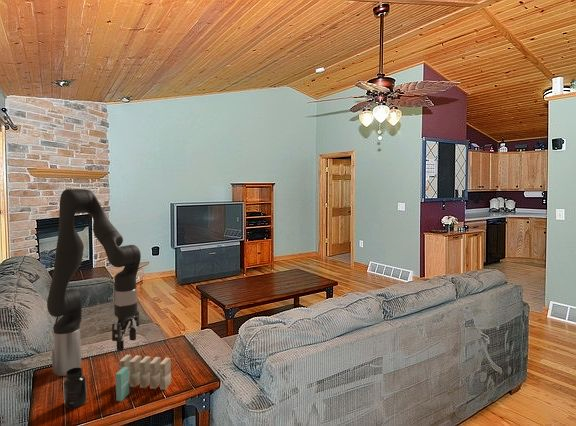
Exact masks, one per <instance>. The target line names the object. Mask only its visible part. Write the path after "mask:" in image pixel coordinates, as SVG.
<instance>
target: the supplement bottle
mask: <svg viewBox="0 0 576 426" xmlns="http://www.w3.org/2000/svg"><path fill="white" fill-rule="evenodd" d="M83 373H84V372H83V368H82V367H81V368H72V369H70V370H68V371H67V372H66V378H65V379H64V381H63V383H62V384H63V399H64V401H63V402H64V406H65V408H67V409H71V410H72V409H76V408H80V407H82V406H83V405H85V403H87V401H88V400H87V399H88V397H87V395H88V393H87V392H88V391H87V378H86V376H85V375H84V374H83Z"/></svg>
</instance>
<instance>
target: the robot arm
mask: <svg viewBox="0 0 576 426" xmlns="http://www.w3.org/2000/svg"><path fill="white" fill-rule="evenodd" d="M76 214H88V215H89V216H91V218H92V219H93V220H92V221H93V223H92V232H93V235H94V236H95V238H96V240H97V241H98V242H99V243H100V244H101V246H102V247H103V249H104V252H105V255H106V257H107V258H106V259H107V260H108V263H109V264H110V265H111V266H113V267H115V268H122V267H123V269H122V270H121V271H119V272H118V273H116V274H115V275H114V295H113V300H114V301H113V303H114V304H113V305H114V306H113V308H114V309H113V310H114V313H113V314H114V316H115V317H116V318H117V323H112V324H111V325H112V326H111V327H112V328H111V337H112V338H111V341H112V342H116V350H117V352H123V351H124V350H125V343H124V342H125V339H124V338H125V336H126V335H127V333H128V332H129V341H136V339H137V330H138V327H140V311H139V310H138V291H137V275H138V273H139V272H138V271H139V267H140V263H141V260H142V259H141V257H142V256H141V251H140V248H139V247H138V246H137V245H134V244H128V245H122V244H123V242H124V238H123V236H122V235H121V233H120V232H119V231H118V230H117V228H116V227H115V226H114V225H113V223H112V222H111V221H110V219H109V218H108V216H107V214H106V212H105V211H104V209H103V207H102V205H101V204H100V202H99V200H98V198H97V196H96V195H95V193H93V191H91V190H90V189H85V188H67V189H64V190H63V191H62V193H61V195H60V198H59V215H58V216H59V217H58V218H59V220H58V234H57V241H56V248H55V249H56V250H55V255H54V256H55V257H54V266H53V273H52V279H51V283H50V288H49V291H48V296H47V300H46V308H47V312H48V313H49V315H50V316H51V317H55V318H57V317H61V318H59V320H58V321H56V322H55V323H54V324H53V327H52V329H53V331H52V332H53V349H52V350H51V361H52V363H51V364H52V372H53V374H54V375H57V376H59V377H62V376H63V377H65V376H66V372H67V371H68V370H70V369H72V368H81V369H82V352H81V351H82V350H81V348H82V347H81V345H82V344H81V322H82V317H83V316H82V313H83V312H82V311H83V310H82V308H83V307H82V305H83V303H82V296H81V294H80V291H78V290H77V289H75V288H69V289H68V287H69V283H70V281H71V279H72V278H73V277H74V275H75V274H76V273H77V271H78V270H79V268H80V267H81V265H82V262H83V255H84V249H85V247H84V242H83V240H82V238H81V236H80V235H79V233H78V232H77V229H76V227H75V215H76ZM128 330H129V331H128Z"/></svg>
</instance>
